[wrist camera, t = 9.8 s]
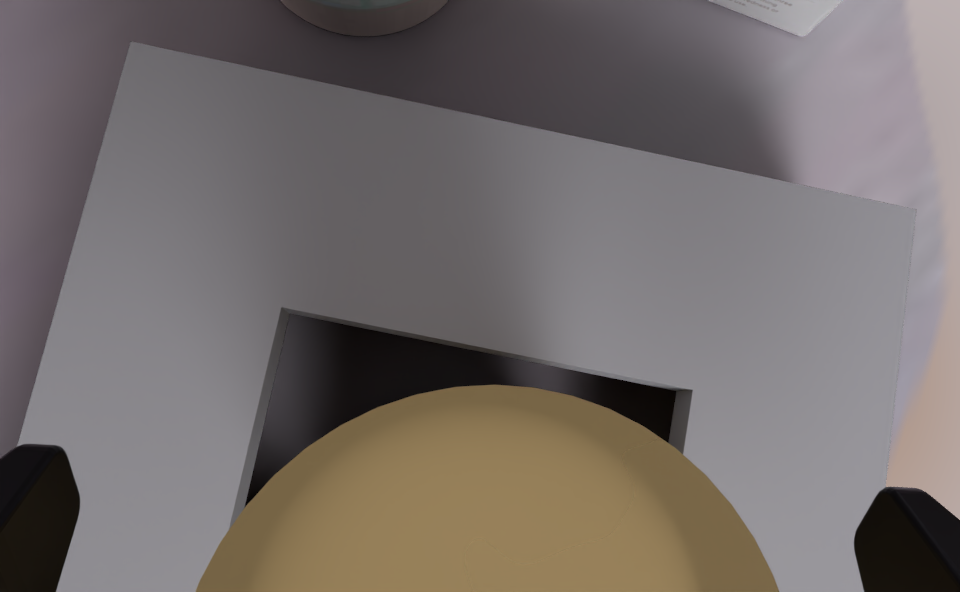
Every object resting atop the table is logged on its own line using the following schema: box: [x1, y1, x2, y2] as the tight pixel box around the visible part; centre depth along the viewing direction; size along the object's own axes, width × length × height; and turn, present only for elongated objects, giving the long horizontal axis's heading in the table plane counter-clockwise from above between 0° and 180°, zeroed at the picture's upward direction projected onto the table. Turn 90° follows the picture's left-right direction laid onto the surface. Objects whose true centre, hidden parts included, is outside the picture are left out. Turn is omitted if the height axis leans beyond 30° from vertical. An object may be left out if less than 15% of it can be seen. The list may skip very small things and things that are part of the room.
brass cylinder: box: [196, 385, 779, 592], centre depth 13 cm, size 5×5×13 cm
